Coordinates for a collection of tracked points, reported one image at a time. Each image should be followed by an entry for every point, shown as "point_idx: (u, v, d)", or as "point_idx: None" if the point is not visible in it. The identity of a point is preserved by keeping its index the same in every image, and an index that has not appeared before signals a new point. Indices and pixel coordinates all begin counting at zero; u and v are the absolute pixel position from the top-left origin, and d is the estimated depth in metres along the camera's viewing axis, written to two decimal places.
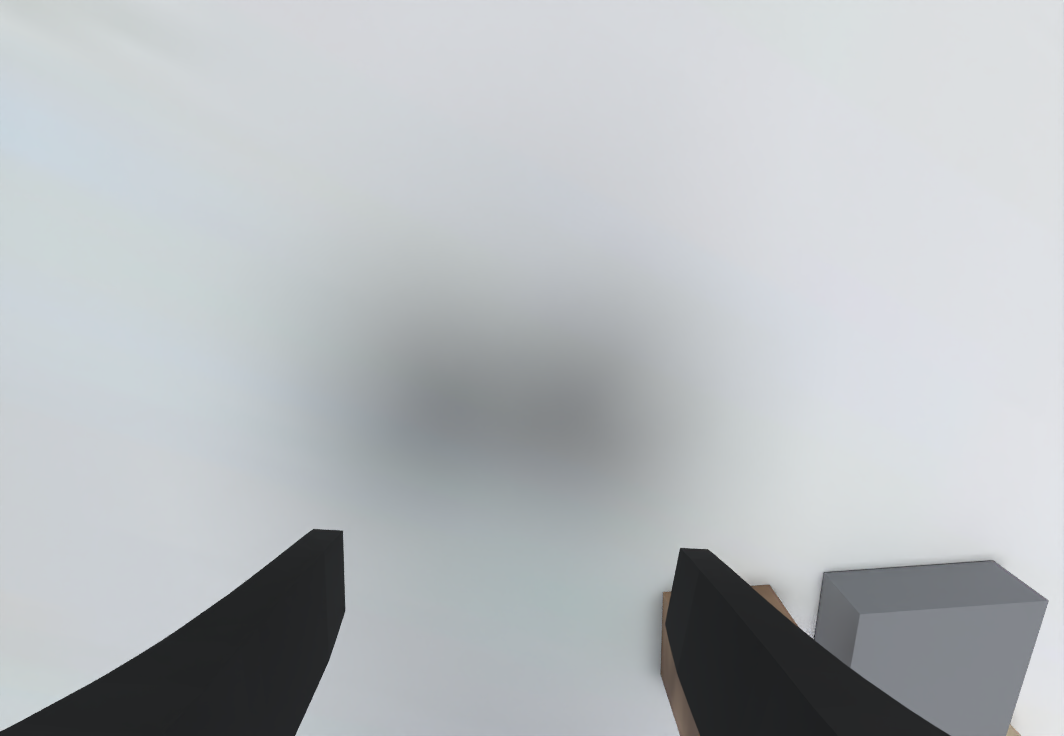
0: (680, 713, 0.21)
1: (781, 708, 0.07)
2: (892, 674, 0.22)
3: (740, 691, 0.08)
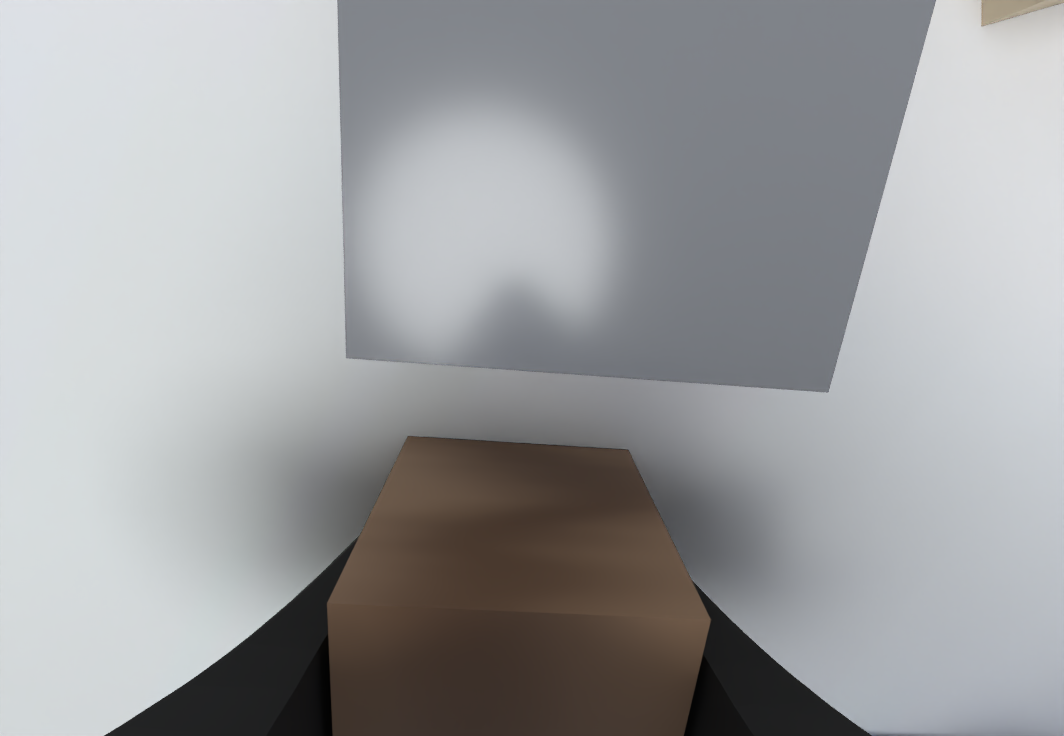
0: None
1: (709, 706, 0.07)
2: (572, 253, 0.08)
3: None
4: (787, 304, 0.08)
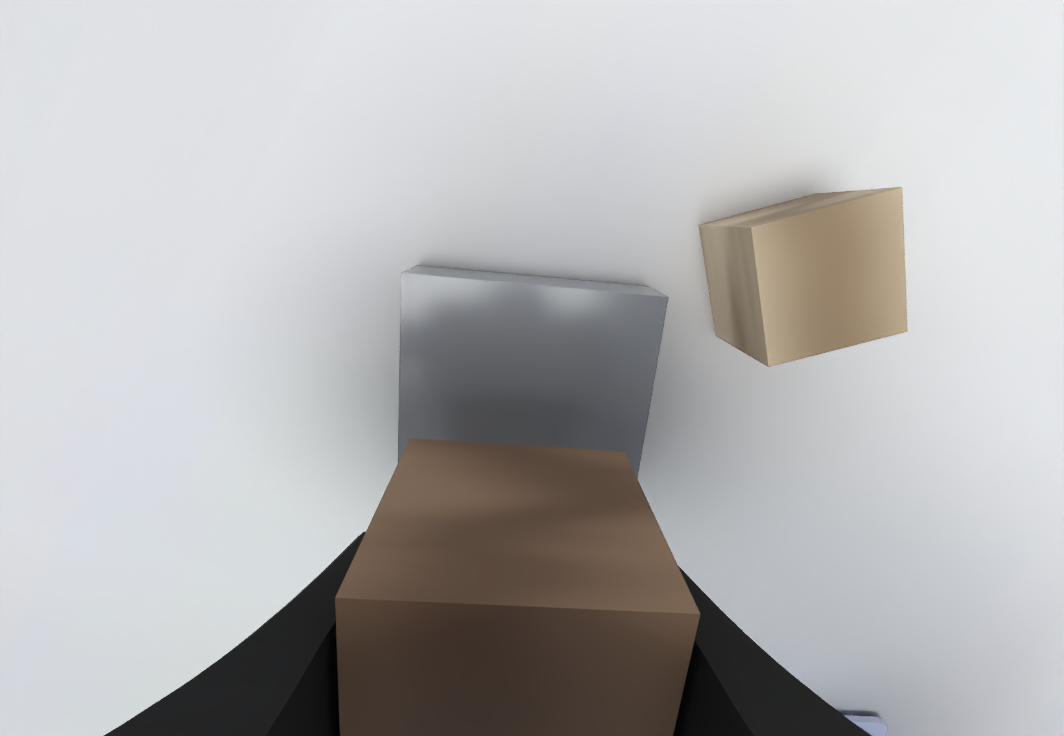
0: None
1: (709, 706, 0.07)
2: None
3: None
4: None
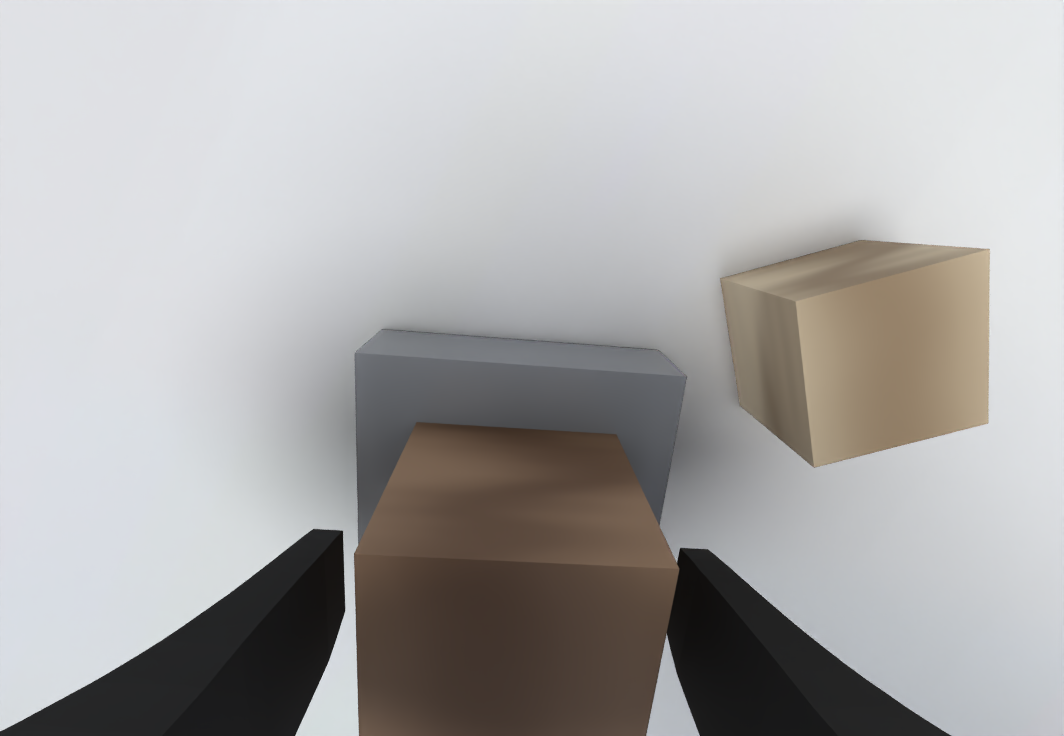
0: None
1: (781, 708, 0.07)
2: None
3: (740, 691, 0.08)
4: None
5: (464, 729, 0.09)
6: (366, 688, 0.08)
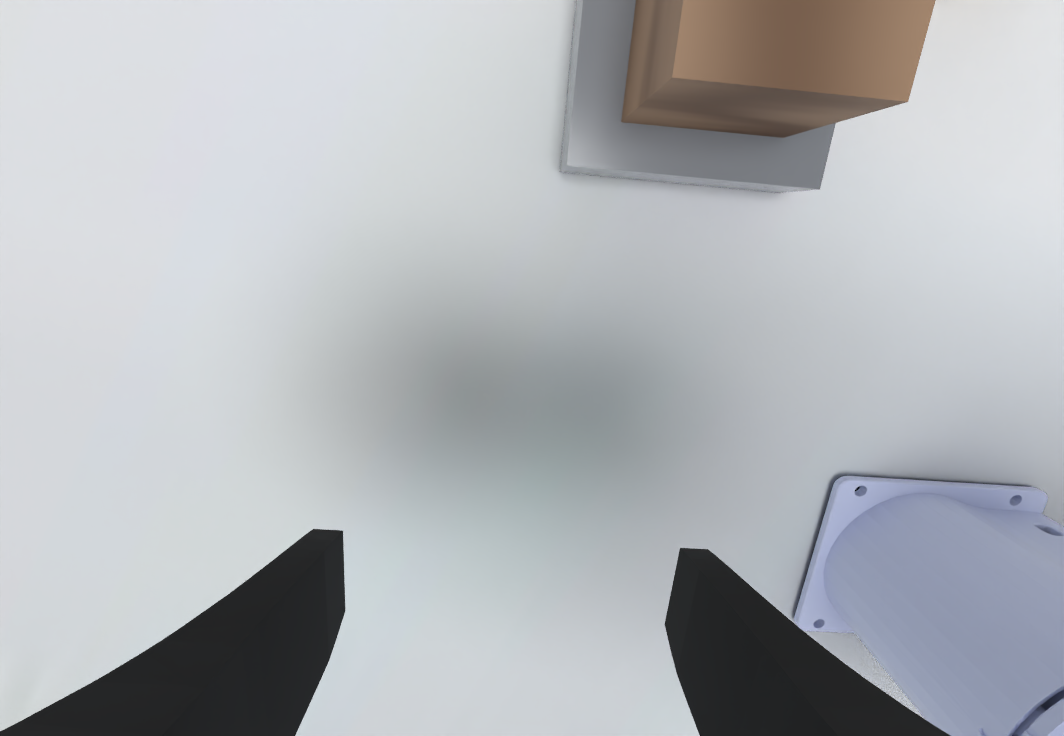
0: (798, 114, 0.12)
1: (781, 708, 0.07)
2: None
3: (740, 690, 0.08)
4: (798, 137, 0.15)
5: (775, 0, 0.10)
6: None
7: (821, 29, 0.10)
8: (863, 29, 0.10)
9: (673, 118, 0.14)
